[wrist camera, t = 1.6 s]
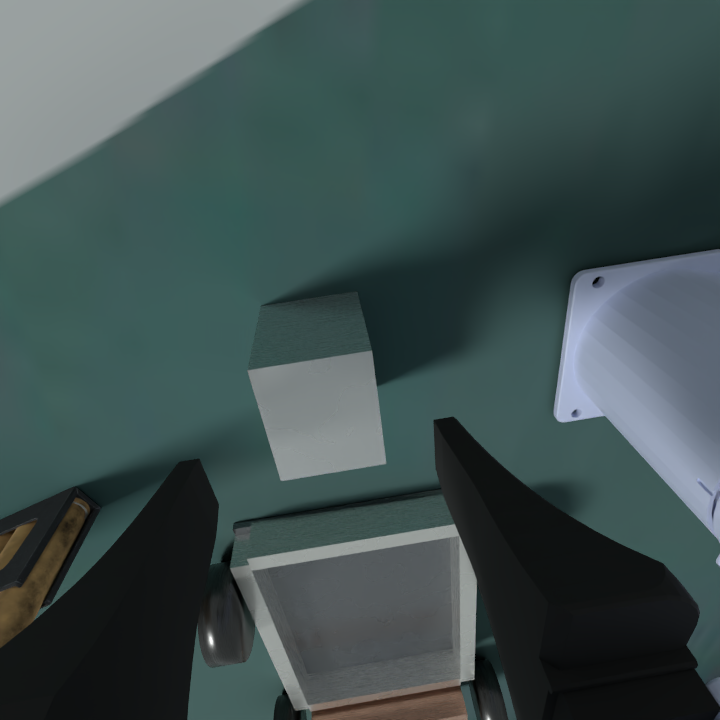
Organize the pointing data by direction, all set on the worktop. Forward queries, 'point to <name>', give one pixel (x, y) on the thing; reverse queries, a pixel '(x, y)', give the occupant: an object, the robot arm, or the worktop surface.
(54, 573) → the ammunition clip
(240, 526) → the chassis
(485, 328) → the worktop surface
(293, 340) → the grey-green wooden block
